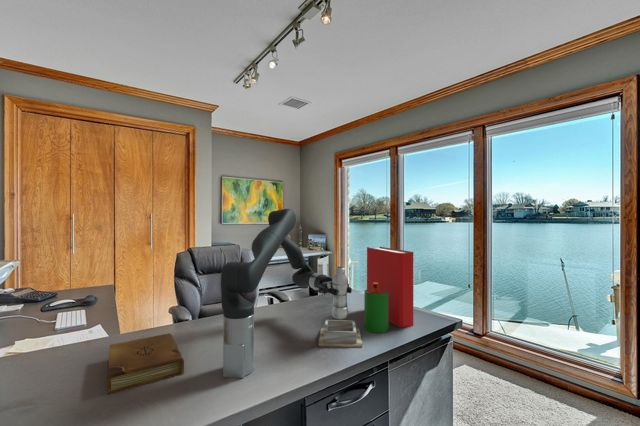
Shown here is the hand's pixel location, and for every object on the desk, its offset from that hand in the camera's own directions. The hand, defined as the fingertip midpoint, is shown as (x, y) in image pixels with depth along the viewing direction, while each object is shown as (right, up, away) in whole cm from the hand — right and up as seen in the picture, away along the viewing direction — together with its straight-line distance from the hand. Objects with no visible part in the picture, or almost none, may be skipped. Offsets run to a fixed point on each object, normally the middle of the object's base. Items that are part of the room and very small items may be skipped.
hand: (343, 291), depth 117 cm
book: (+24, -19, +27) cm, 41 cm away
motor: (+15, -19, +12) cm, 27 cm away
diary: (-64, -19, -21) cm, 70 cm away
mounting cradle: (-1, -19, +2) cm, 19 cm away
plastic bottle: (-1, -11, +2) cm, 11 cm away
